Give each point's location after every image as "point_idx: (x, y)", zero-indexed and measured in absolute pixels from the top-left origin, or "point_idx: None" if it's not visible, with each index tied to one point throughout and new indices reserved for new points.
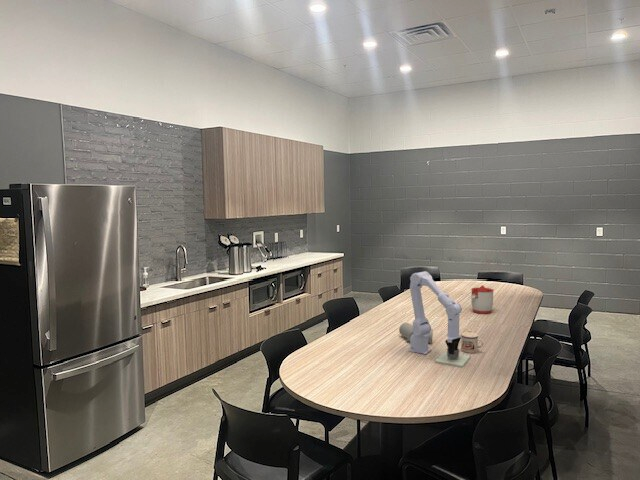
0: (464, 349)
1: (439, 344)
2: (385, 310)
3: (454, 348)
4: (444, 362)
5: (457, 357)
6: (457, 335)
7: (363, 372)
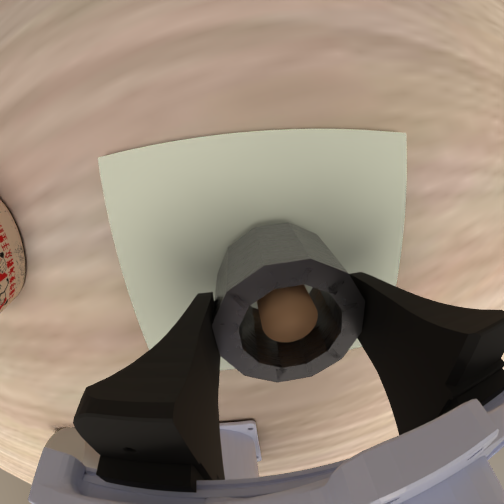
0: (15, 271)
1: (57, 405)
2: (30, 481)
3: (405, 298)
4: (396, 282)
5: (297, 226)
6: (483, 484)
7: None
